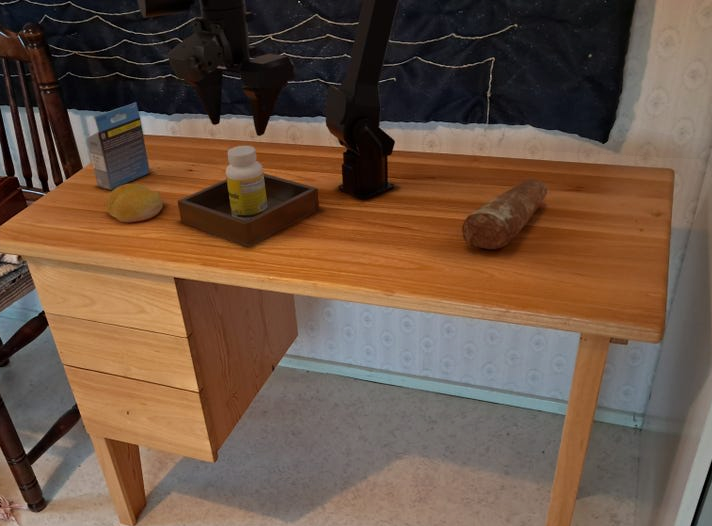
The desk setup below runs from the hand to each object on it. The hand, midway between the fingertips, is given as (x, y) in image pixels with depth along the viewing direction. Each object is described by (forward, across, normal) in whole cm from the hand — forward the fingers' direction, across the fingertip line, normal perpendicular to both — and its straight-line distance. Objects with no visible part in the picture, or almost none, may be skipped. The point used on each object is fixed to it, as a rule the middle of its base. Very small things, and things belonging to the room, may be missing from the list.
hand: (237, 129), depth 102 cm
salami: (+13, +32, +18) cm, 39 cm away
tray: (+13, 0, 0) cm, 13 cm away
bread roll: (+13, -16, -9) cm, 23 cm away
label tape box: (+13, -29, -2) cm, 32 cm away
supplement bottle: (+13, 0, 0) cm, 13 cm away
